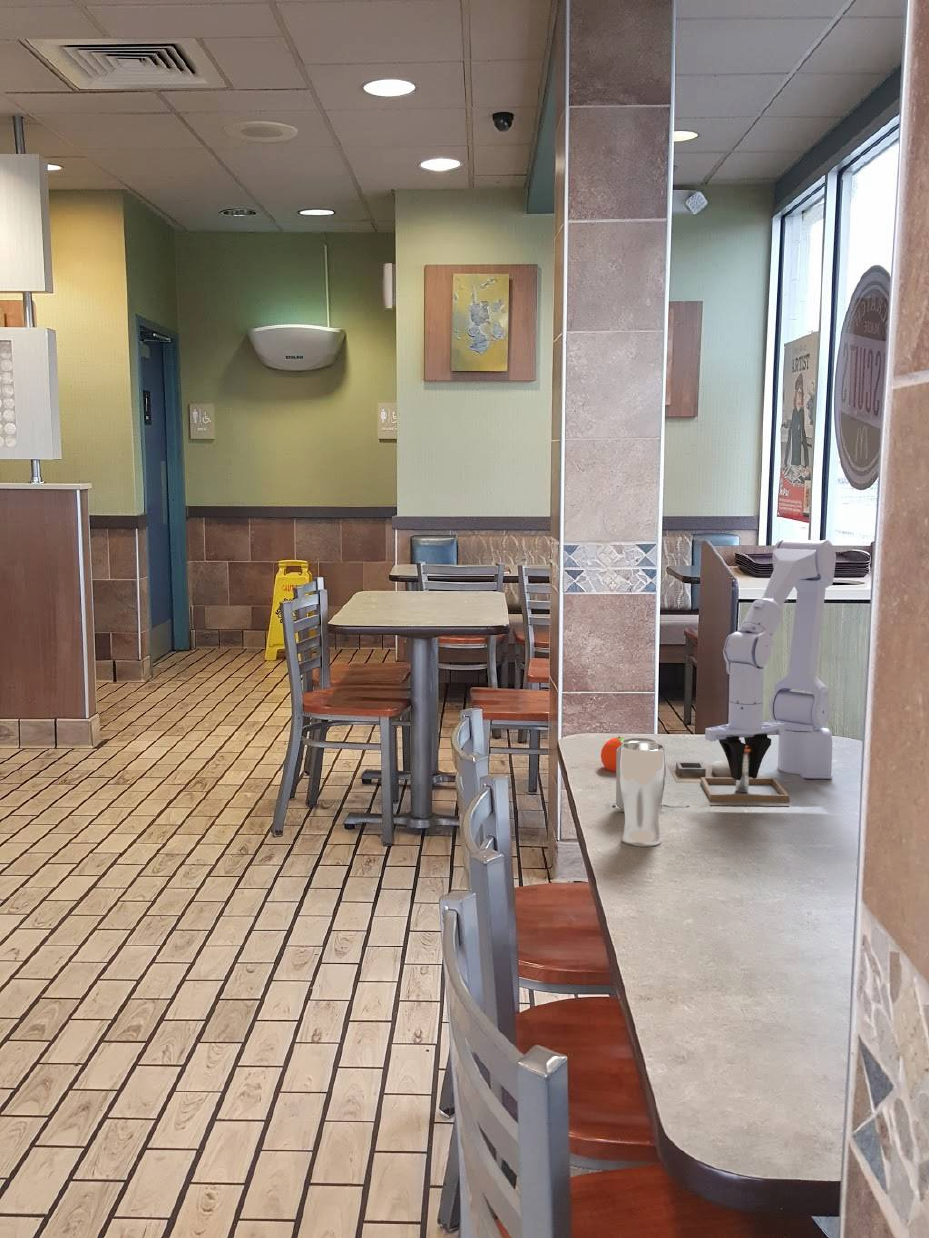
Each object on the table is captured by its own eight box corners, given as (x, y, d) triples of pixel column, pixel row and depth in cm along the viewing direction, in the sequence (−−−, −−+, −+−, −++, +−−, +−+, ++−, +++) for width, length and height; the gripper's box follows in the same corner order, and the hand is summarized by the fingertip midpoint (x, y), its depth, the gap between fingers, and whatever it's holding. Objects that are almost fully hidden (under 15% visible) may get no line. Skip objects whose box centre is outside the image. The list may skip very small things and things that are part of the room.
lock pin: (743, 787, 198) (746, 744, 197) (753, 791, 195) (756, 748, 194) (730, 788, 197) (733, 745, 196) (739, 793, 194) (742, 749, 193)
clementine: (648, 772, 213) (649, 735, 212) (633, 781, 207) (634, 743, 206) (610, 767, 217) (610, 731, 216) (594, 775, 211) (594, 738, 210)
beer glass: (667, 835, 176) (669, 742, 174) (660, 849, 169) (662, 752, 167) (623, 831, 178) (624, 739, 176) (614, 845, 171) (615, 749, 169)
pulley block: (752, 770, 214) (752, 753, 213) (765, 788, 202) (765, 769, 201) (667, 769, 214) (667, 752, 214) (675, 787, 203) (675, 768, 202)
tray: (774, 788, 201) (775, 777, 201) (789, 807, 190) (789, 795, 190) (700, 788, 202) (700, 777, 202) (710, 806, 191) (710, 794, 191)
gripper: (769, 694, 200) (767, 768, 202) (697, 699, 195) (695, 775, 197) (792, 701, 193) (790, 778, 195) (717, 707, 189) (716, 786, 191)
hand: (744, 777), depth 196 cm, fingers closed on lock pin, 3 cm apart
